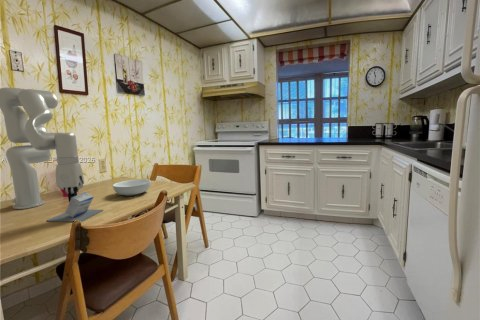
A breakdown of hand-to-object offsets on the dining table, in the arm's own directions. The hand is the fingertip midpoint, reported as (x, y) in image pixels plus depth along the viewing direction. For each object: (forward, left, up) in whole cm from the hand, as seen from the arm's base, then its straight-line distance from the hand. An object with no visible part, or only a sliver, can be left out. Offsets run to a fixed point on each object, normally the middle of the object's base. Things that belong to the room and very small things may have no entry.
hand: (73, 201), depth 106 cm
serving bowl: (+6, +37, -7) cm, 38 cm away
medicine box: (0, 0, -5) cm, 5 cm away
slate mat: (+1, 0, -7) cm, 7 cm away
